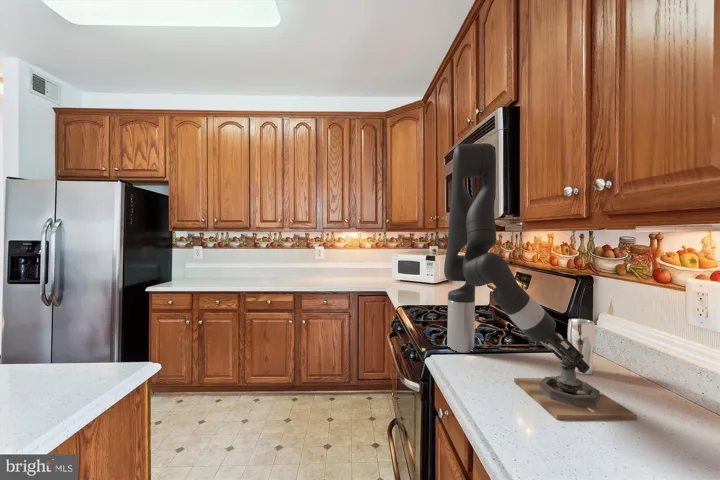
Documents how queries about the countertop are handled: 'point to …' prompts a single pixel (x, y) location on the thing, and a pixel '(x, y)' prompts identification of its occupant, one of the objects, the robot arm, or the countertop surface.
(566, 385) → the grey turned stone piece
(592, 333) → the beer glass
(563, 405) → the socket plate
